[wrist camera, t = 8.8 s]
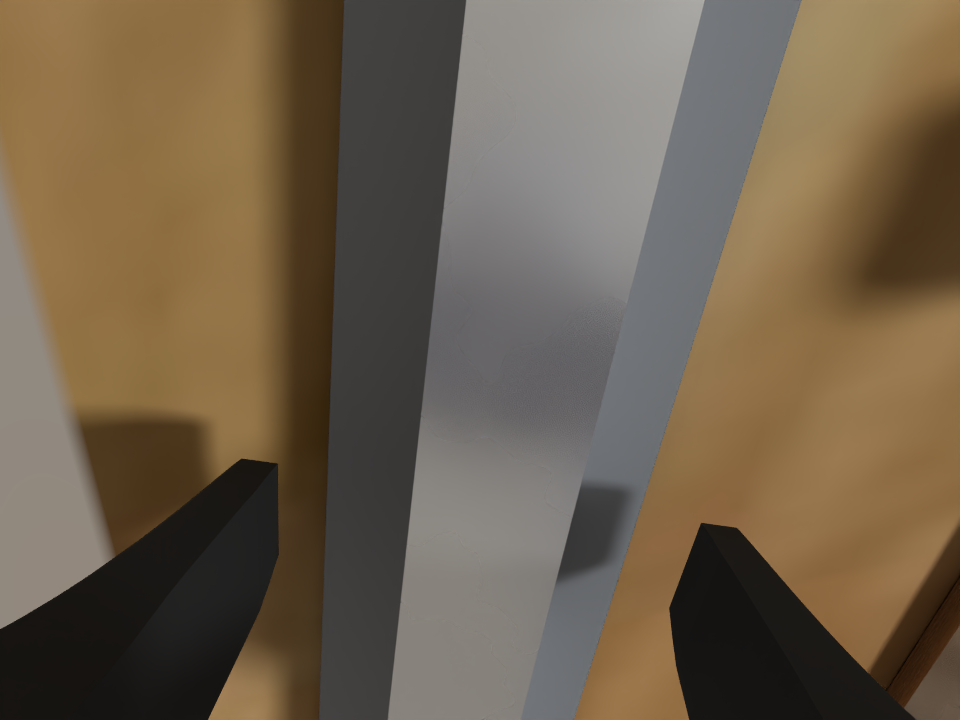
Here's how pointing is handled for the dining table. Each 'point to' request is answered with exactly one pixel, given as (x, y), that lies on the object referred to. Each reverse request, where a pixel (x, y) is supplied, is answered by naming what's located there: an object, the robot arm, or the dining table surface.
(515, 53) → the rail
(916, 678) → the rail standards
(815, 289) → the dining table surface
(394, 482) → the mat
